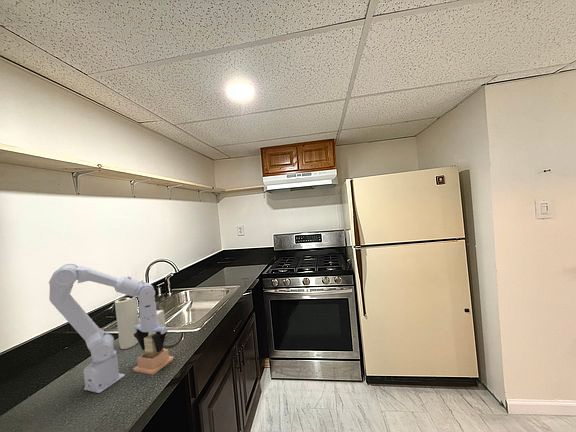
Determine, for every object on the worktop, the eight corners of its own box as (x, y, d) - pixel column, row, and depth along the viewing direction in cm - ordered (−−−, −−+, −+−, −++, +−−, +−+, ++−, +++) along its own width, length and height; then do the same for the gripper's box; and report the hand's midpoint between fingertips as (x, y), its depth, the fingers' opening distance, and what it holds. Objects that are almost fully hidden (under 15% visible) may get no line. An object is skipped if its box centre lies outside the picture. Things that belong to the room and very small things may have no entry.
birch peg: (154, 365, 100) (151, 339, 100) (146, 364, 102) (143, 338, 102) (162, 359, 104) (160, 334, 104) (155, 358, 106) (152, 333, 105)
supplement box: (167, 335, 127) (164, 309, 127) (158, 343, 120) (155, 316, 119) (152, 336, 128) (149, 310, 127) (143, 344, 120) (139, 317, 120)
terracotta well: (153, 374, 96) (151, 362, 96) (133, 371, 100) (131, 359, 100) (174, 359, 106) (172, 348, 105) (155, 356, 109) (154, 345, 109)
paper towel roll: (117, 350, 117) (111, 302, 116) (124, 343, 123) (118, 298, 122) (134, 348, 118) (129, 300, 117) (140, 341, 124) (135, 296, 123)
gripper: (171, 312, 103) (174, 346, 104) (143, 310, 108) (147, 342, 109) (156, 319, 96) (160, 356, 97) (127, 317, 102) (131, 352, 102)
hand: (152, 349), depth 102 cm, fingers open, 7 cm apart
